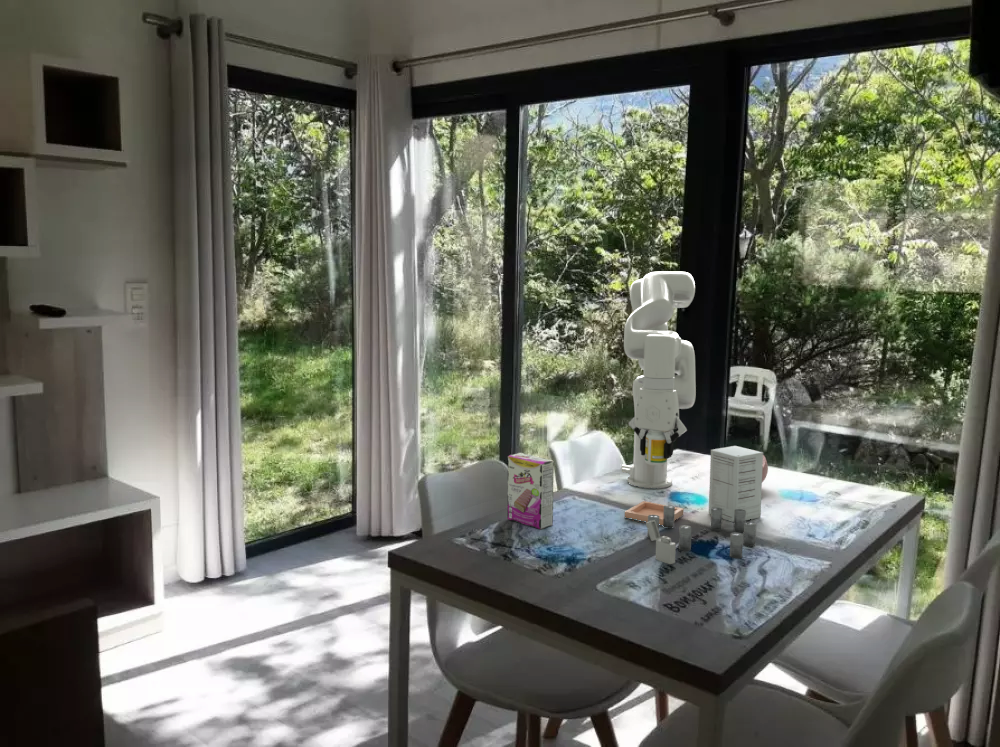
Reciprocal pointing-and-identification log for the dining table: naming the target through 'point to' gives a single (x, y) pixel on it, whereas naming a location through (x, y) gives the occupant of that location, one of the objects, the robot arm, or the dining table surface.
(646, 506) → the dish
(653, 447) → the supplement bottle
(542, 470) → the candy bar box
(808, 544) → the dining table surface
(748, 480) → the supplement box
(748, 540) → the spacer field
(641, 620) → the dining table surface
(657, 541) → the lighter
